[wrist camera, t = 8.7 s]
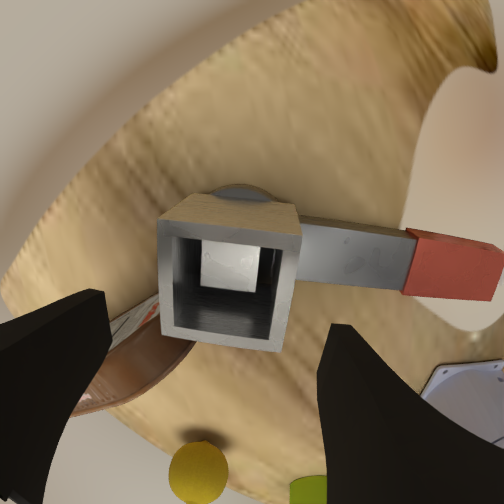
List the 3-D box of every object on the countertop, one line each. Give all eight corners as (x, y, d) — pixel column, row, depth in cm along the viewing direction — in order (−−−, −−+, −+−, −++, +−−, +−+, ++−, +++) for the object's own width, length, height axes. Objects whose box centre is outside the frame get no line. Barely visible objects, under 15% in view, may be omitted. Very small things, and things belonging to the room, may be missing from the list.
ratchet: (496, 228, 16) (532, 249, 12) (472, 302, 18) (500, 333, 14) (192, 179, 17) (167, 192, 13) (189, 274, 19) (168, 309, 15)
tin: (91, 365, 23) (48, 430, 15) (68, 339, 22) (18, 401, 15) (218, 299, 19) (185, 396, 12) (189, 261, 19) (135, 345, 11)
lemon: (181, 420, 25) (160, 489, 17) (238, 434, 25) (228, 505, 17) (177, 445, 27) (159, 505, 19) (227, 458, 27) (216, 519, 19)
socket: (294, 204, 15) (303, 235, 10) (280, 294, 17) (280, 352, 12) (192, 193, 15) (157, 218, 10) (190, 283, 17) (161, 334, 12)
